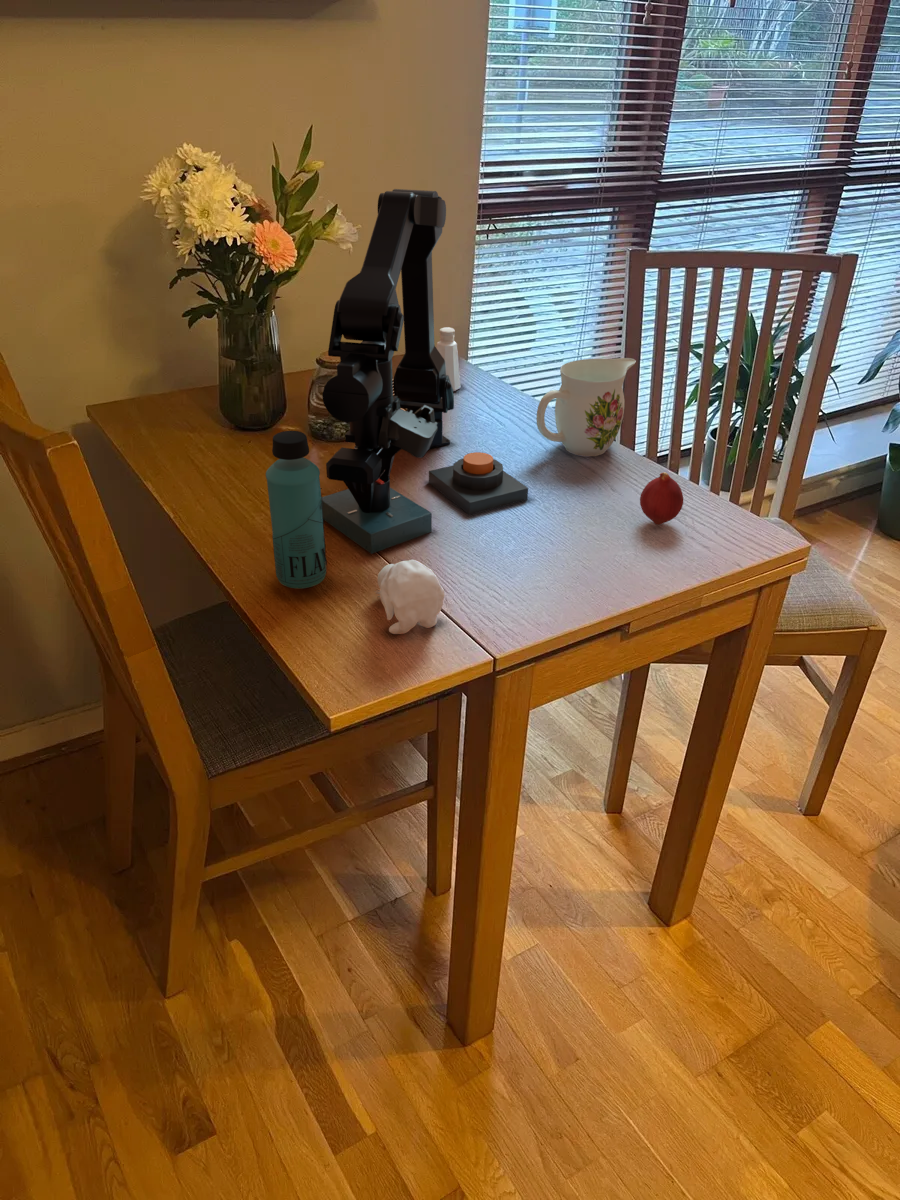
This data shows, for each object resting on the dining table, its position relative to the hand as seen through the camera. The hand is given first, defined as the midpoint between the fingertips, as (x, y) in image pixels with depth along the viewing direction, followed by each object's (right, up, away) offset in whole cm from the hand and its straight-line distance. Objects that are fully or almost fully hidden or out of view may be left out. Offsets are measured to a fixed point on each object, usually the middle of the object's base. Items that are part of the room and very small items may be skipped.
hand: (374, 501), depth 126 cm
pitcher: (+32, +11, +25) cm, 42 cm away
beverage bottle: (-8, -12, -12) cm, 18 cm away
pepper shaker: (+10, +32, +45) cm, 55 cm away
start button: (+15, +6, +9) cm, 18 cm away
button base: (+15, +3, +11) cm, 18 cm away
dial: (0, 0, 0) cm, 0 cm away
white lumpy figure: (+5, -15, -17) cm, 23 cm away
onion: (+40, -3, +3) cm, 40 cm away
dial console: (0, -3, +2) cm, 4 cm away
